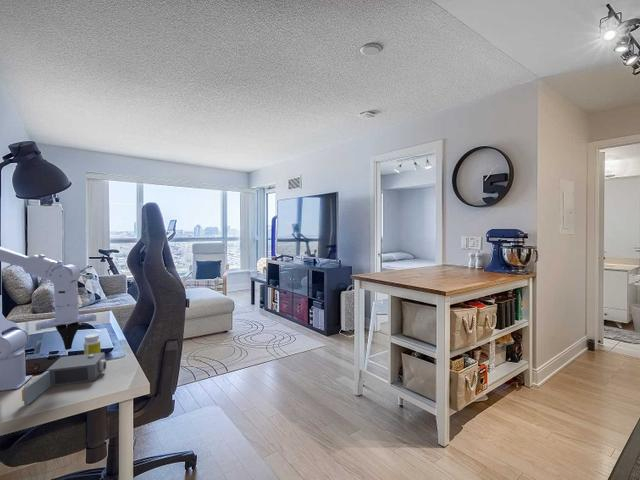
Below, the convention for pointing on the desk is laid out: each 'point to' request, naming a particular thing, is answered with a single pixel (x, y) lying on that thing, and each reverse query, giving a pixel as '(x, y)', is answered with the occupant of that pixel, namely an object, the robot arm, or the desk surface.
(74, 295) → the robot arm
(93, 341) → the supplement bottle
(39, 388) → the side door
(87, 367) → the camera body
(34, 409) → the desk surface
